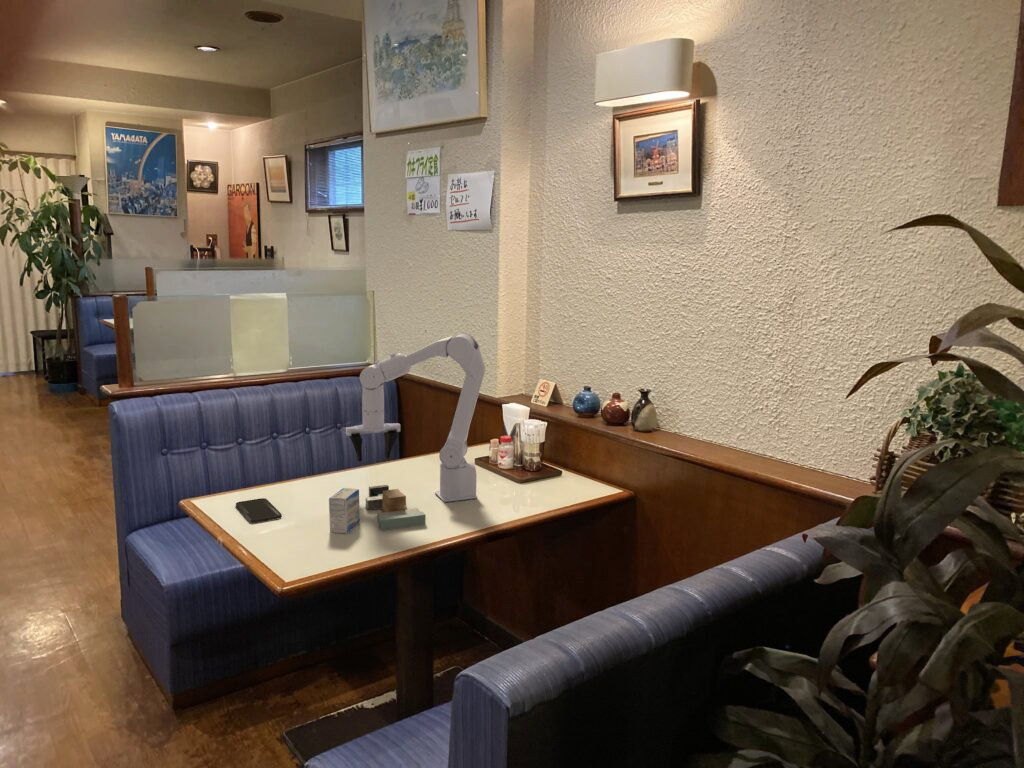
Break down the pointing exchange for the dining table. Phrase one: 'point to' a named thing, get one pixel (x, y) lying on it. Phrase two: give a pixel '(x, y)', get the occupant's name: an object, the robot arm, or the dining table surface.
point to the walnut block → (393, 500)
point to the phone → (258, 510)
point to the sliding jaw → (376, 497)
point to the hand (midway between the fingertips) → (373, 459)
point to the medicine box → (344, 510)
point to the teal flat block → (400, 519)
